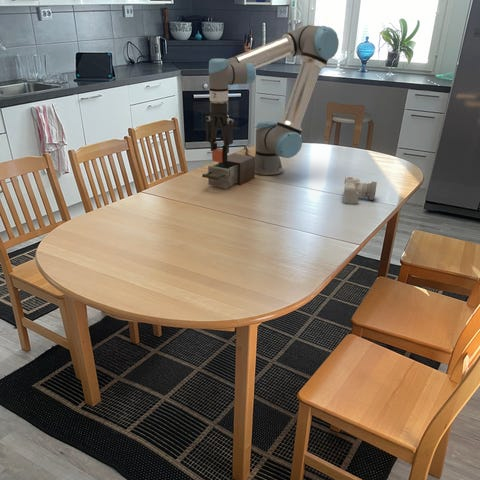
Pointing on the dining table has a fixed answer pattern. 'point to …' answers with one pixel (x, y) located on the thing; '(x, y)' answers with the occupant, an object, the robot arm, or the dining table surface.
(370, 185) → the digital camera
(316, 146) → the dining table surface
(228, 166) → the grey drawer
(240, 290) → the dining table surface
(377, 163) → the dining table surface
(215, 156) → the block
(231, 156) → the cabinet
